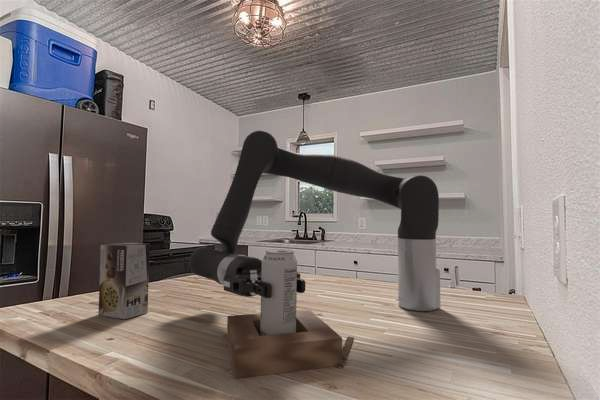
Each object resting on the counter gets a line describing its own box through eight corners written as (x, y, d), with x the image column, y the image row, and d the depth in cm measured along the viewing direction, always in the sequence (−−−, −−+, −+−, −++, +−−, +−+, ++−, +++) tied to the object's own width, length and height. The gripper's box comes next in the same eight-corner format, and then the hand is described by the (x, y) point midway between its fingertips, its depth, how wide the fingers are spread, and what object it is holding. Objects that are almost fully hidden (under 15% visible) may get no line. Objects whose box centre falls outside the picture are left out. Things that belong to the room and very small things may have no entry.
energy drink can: (271, 331, 59) (272, 248, 60) (301, 337, 56) (303, 250, 57) (252, 343, 54) (255, 251, 54) (285, 350, 51) (287, 253, 52)
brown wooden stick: (347, 335, 61) (354, 336, 60) (347, 340, 61) (354, 341, 60) (334, 362, 49) (343, 364, 48) (334, 369, 49) (343, 371, 48)
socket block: (309, 330, 65) (309, 309, 65) (342, 365, 49) (342, 337, 50) (227, 338, 60) (227, 315, 60) (234, 378, 45) (235, 348, 45)
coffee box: (149, 312, 76) (151, 243, 77) (123, 320, 70) (126, 245, 71) (122, 308, 80) (125, 241, 81) (96, 315, 74) (99, 243, 75)
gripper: (208, 257, 63) (248, 269, 49) (272, 253, 71) (321, 262, 58) (207, 297, 63) (247, 320, 49) (271, 288, 71) (321, 305, 57)
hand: (287, 289), depth 53 cm, fingers closed on energy drink can, 6 cm apart
